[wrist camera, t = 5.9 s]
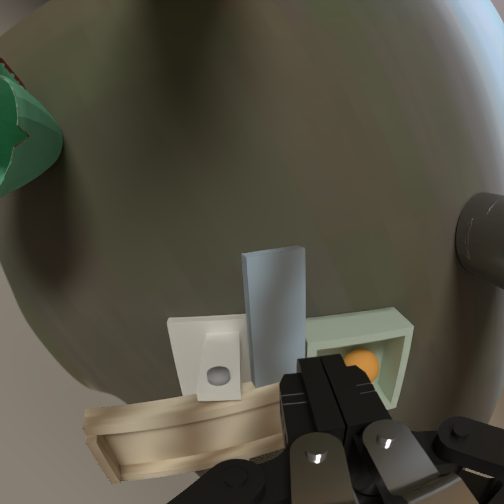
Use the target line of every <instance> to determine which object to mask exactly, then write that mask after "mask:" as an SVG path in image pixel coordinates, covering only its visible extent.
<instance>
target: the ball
mask: <svg viewBox="0 0 504 504" xmlns="http://www.w3.org/2000/svg"><path fill="white" fill-rule="evenodd" d="M343 360H344V362H345V364H346V366H352V365H356V366H358V367H359V368H360V369H362V370H363V371H365V372H366V374H367V376H368V377H369V379H370V381H371V383H373V382H374V380H375V379H376V377H377V376H378V373H379V362H378V359H377V357H376V356H375V355H374V354H373V353H372V352H371V351H369V350H366V349H355V350H352V351H350V352H349V353H347V354H346V355H345V356H344V357H343Z"/></svg>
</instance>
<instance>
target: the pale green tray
mask: <svg viewBox="0 0 504 504" xmlns="http://www.w3.org/2000/svg"><path fill="white" fill-rule="evenodd" d="M413 329H414V326H413V325H412V324H411V323H410V322H409V321H408V320H407V319H406V318H405V317H404V316H403V315H401V314H400V313H399V312H398V311H397V310H396V309H395V308H394V307H389V308H382V309H375V310H368V311H361V312H353V313H346V314H338V315H329V316H320V317H311V318H306V325H305V358H308V357H317V356H318V357H319V356H324V355H332V354H341V356H342V358H343V357H344V356H345V355H346V354H347V353H349V352H350V351H352V350H355V349H366V350H369V351H371V352H372V353H373V354H374V355H375V356H376V357H377V359H378V362H379V373H378V376H377V377H376V379H375V380H374V382H373V383H371V384H373V386H374V388H375V391H377V393H378V395H379V397H380V399H381V400H382V402H383V404H384V406H385V408H386V409H387V410H389V409H392V408H396V405H397V402H398V398H399V394H400V390H401V386H402V382H403V378H404V374H405V370H406V365H407V361H408V356H409V351H410V346H411V340H412V335H413Z"/></svg>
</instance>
